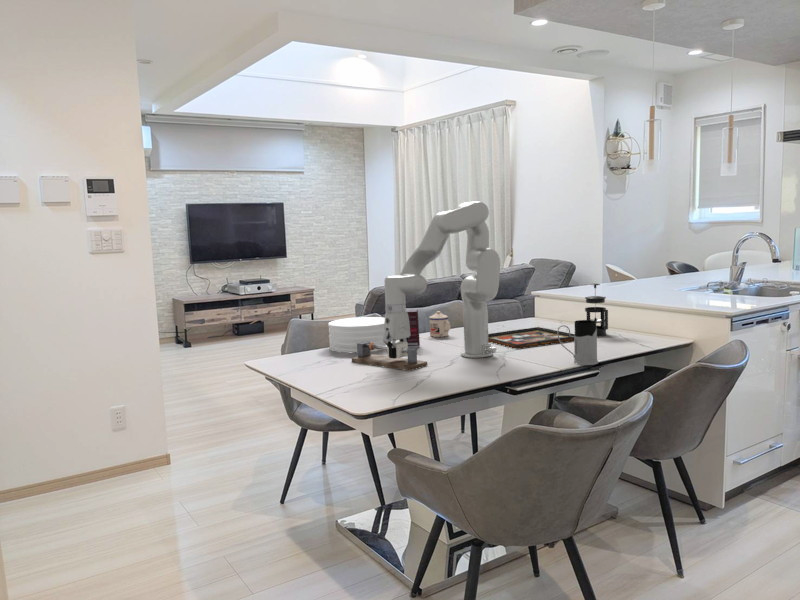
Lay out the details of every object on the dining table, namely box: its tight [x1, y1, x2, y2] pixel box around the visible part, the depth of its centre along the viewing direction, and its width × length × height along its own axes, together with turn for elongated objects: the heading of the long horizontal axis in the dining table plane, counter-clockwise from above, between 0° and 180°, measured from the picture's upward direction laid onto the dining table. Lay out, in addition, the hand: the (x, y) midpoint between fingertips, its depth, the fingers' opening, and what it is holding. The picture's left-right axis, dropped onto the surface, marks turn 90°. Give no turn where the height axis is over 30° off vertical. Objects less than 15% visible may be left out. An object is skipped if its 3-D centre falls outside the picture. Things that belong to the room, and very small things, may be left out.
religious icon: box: [488, 326, 575, 349], centre depth 280 cm, size 38×35×3 cm
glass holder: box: [556, 319, 599, 366], centre depth 229 cm, size 9×14×15 cm, turn 79°
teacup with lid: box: [428, 310, 451, 338], centre depth 298 cm, size 12×9×12 cm
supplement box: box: [402, 309, 421, 349], centre depth 273 cm, size 9×5×16 cm, turn 84°
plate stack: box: [327, 316, 392, 353], centre depth 279 cm, size 28×28×12 cm
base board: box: [351, 353, 428, 371], centre depth 241 cm, size 30×10×2 cm, turn 49°
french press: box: [584, 283, 609, 337], centre depth 283 cm, size 12×9×23 cm
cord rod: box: [356, 342, 418, 364], centre depth 241 cm, size 28×4×6 cm, turn 49°
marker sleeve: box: [386, 340, 409, 358], centre depth 237 cm, size 6×5×5 cm
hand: (397, 356), depth 238 cm, fingers closed on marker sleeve, 5 cm apart
